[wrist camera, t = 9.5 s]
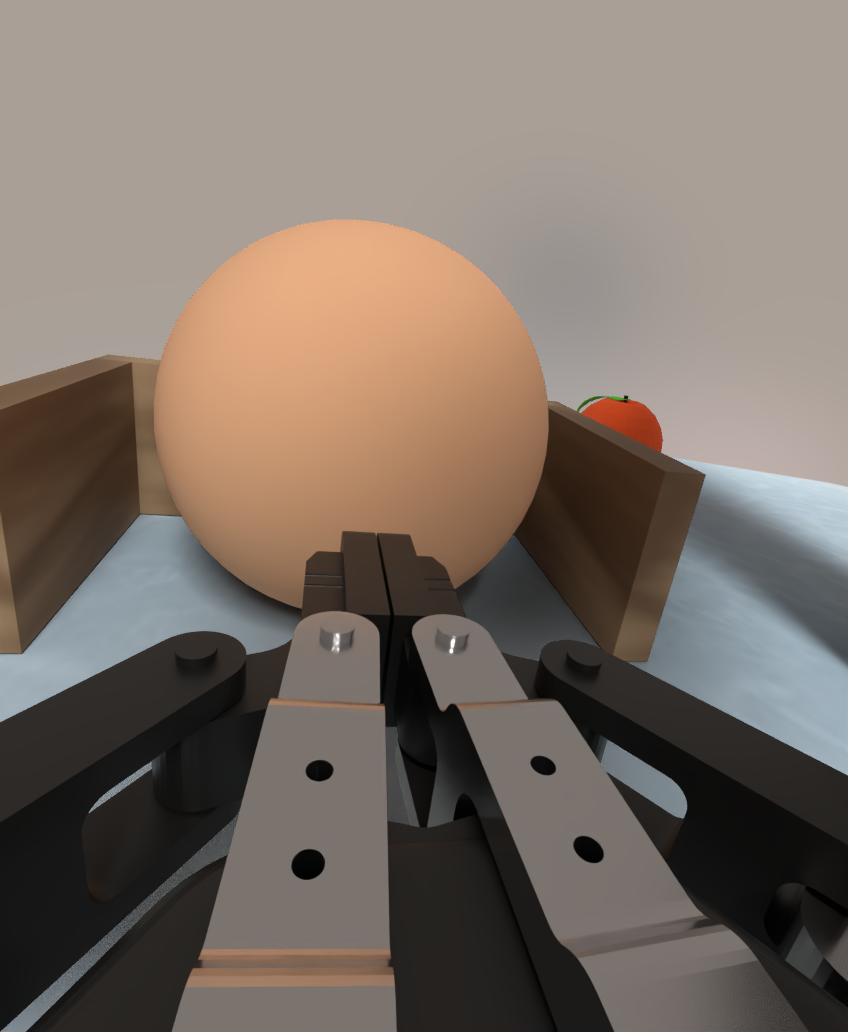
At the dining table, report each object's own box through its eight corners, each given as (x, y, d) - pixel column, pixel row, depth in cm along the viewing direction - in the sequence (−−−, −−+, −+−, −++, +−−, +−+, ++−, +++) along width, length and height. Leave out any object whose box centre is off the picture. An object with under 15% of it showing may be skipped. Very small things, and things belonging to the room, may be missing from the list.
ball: (580, 697, 17) (465, 573, 30) (671, 200, 15) (504, 304, 28) (66, 676, 14) (192, 550, 28) (90, 65, 12) (213, 251, 26)
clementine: (533, 470, 47) (550, 383, 44) (588, 465, 51) (607, 385, 48) (611, 503, 41) (636, 404, 38) (667, 495, 45) (693, 405, 42)
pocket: (531, 526, 34) (557, 401, 31) (646, 661, 22) (705, 474, 19) (118, 501, 30) (108, 354, 27) (-33, 652, 17) (-80, 409, 15)
